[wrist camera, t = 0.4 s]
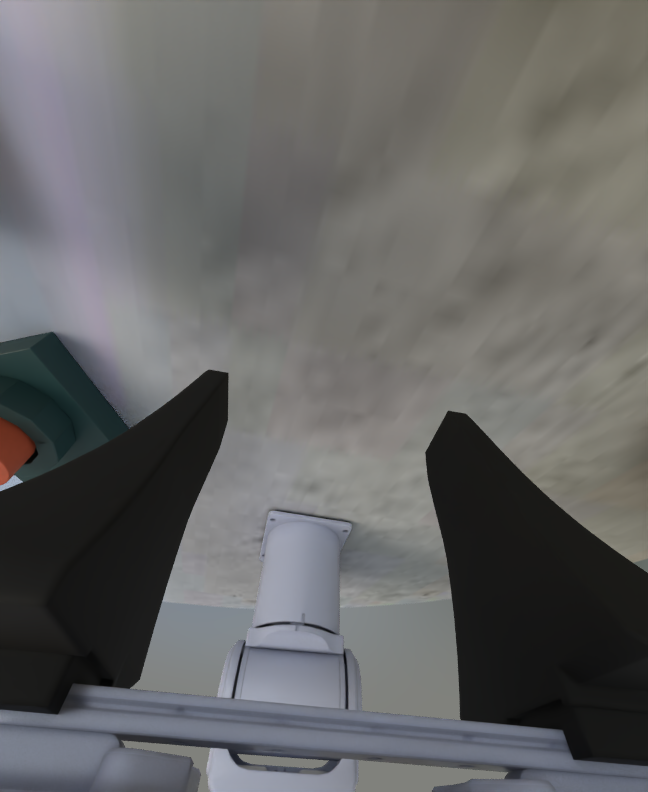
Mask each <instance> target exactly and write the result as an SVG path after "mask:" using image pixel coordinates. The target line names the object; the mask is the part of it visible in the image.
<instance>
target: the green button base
mask: <svg viewBox="0 0 648 792" xmlns="http://www.w3.org/2000/svg"><path fill="white" fill-rule="evenodd" d="M0 417H1V418H3V419H5V420H7V421H9V422H11V423H13V424H14V425H16V426H18V427H19V428H20V429H21V430H22V431H23V432H24V433H26V434H27V435H28V436H29V437H30V438H31V439H32V440H33V441H34V442H35V446H36V449H35V452H34V454H33V455H32V456H31V457H30V458H29V459H28V460H27V461H26V462H25V463H24V464H23V465H22V467H21V468H20V469H19V470H18V471H17V472H16V473H15V474H14V475H16V476H17V477H18V478H19V479H20V480H22V481H23V482H25V481H27V480H30V479H32V478H35V477H37V476H39V475H42V474H44V473H46V472H48V471H51V470H53V469H55V468H57V467H59V466H61V465H63V464H66V463H68V462H70V461H72V460H74V459H76V458H78V457H80V456H82V455H84V454H86V453H88V452H90V451H92V450H94V449H96V448H98V447H100V446H101V445H103V444H105V443H107V442H108V441H110V440H112V439H114V438H115V437H117V436H119V435H120V434H122V433H124V432H125V431H127V430H128V427H127V426H126V425H125V424H124V422H123V421H122V420H121V419H120V417H119V416H118V415H117V413H116V412H115V411H114V410H113V408H112V407H111V406H110V404H109V403H108V402H107V401H106V399H105V398H104V397H103V396H102V394H101V393H100V392H99V390H98V389H97V388H96V387H95V385H94V384H93V383H92V382H91V380H90V379H89V378H88V376H87V375H86V374H85V373H84V371H83V370H82V369H81V368H80V366H79V365H78V364H77V362H76V361H75V360H74V359H73V357H72V356H71V355H70V353H69V352H68V351H67V350H66V348H65V347H64V346H63V345H62V343H61V342H60V341H59V339H58V338H57V337H56V336H55V334H54V333H53V332H49V333H45V334H40V335H35V336H30V337H26V338H21V339H16V340H11V341H7V342H2V343H0Z"/></svg>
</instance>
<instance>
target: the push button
mask: <svg viewBox="0 0 648 792" xmlns="http://www.w3.org/2000/svg"><path fill="white" fill-rule="evenodd" d="M35 449H36V446H35V442H34V441H33V440H32V439H31V438H30V437H29V436H28V435H27V434H26V433H24V432H23V431H22V430H21V429H20V428H19V427H18V426H16V425H14V424H13V423H11V422H9V421H7V420H5V419H3V418H1V417H0V485H3V484H5V483H6V482H7V481H8V480H9V479H10V478H11V477H12V476H13V475H14V474H15V473H16V472H17V471H18V470H19V469H20V468H21V467H22V465H23V464H24V463H25V462H26V461H27V460H28V459H29V458H30V457H31V456H32V455H33V454H34V452H35Z"/></svg>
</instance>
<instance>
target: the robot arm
mask: <svg viewBox="0 0 648 792" xmlns="http://www.w3.org/2000/svg"><path fill="white" fill-rule="evenodd" d="M227 421H228V373H226V372H220V371H214V370H208V371H206V372H205V373H203V374H202V375H201V376H200V377H199V378H197V379H196V380H195V381H194V382H193V383H191V384H190V385H189V386H188V387H186V388H185V389H184V390H183V391H182V392H180V393H179V394H178V395H176V396H175V397H174V398H173V399H171V400H170V401H169V402H167V403H166V404H165V405H163V406H162V407H161V408H159V409H158V410H157V411H155V412H154V413H152V414H151V415H149V416H148V417H146V418H145V419H144V420H142V421H141V422H139V423H138V424H136V425H135V426H133V427H132V428H130V429H128V430H127V431H125V432H124V433H122V434H120V435H119V436H117V437H115V438H114V439H112V440H110V441H108V442H107V443H105V444H103V445H101V446H100V447H98V448H96V449H94V450H92V451H90V452H88V453H86V454H84V455H82V456H80V457H78V458H76V459H74V460H72V461H70V462H68V463H66V464H63V465H61V466H59V467H57V468H55V469H53V470H51V471H48V472H46V473H44V474H42V475H39V476H37V477H35V478H32V479H30V480H27V481H25V482H23V483H20V484H18V485H15V486H13V487H10V488H8V489H5V490H3V491H0V792H197V790H198V785H199V781H200V776H201V773H200V771H199V769H197V768H195V767H193V764H194V763H193V761H192V759H191V757H185V756H179V755H173V754H167V753H161V752H154V751H148V750H142V749H134V748H125V746H124V744H123V742H122V741H121V740H123V741H136V742H148V743H160V744H172V745H185V746H196V747H208V748H210V753H209V759H208V764H207V776H208V788H209V791H210V792H355V787H356V785H357V783H358V760H365V761H378V762H389V763H402V764H413V765H426V766H437V767H450V768H462V769H473V770H486V771H498V772H509V773H508V774H507V775H506V776H505V779H471V780H469V781H467V782H465V783H461V784H456V785H447V786H437V787H434V788H433V790H432V792H648V573H647V572H645V571H644V570H643V569H641V568H640V567H638V566H637V565H635V564H634V563H632V562H631V561H629V560H628V559H626V558H625V557H624V556H622V555H621V554H619V553H618V552H617V551H615V550H614V549H612V548H611V547H610V546H608V545H607V544H606V543H604V542H603V541H602V540H600V539H599V538H598V537H596V536H595V535H594V534H592V533H591V532H590V531H588V530H587V529H586V528H584V527H583V526H582V525H581V524H579V523H578V522H577V521H576V520H574V519H573V518H572V517H571V516H570V515H568V514H567V513H566V512H565V511H564V510H563V509H561V508H560V507H559V506H558V505H557V504H556V503H554V502H553V501H552V500H551V499H550V498H549V497H548V496H546V495H545V494H544V493H543V492H542V491H541V490H540V489H539V488H538V487H537V486H536V485H535V484H534V483H533V482H532V481H531V480H529V479H528V478H527V477H526V476H525V475H524V474H523V473H522V472H521V471H520V470H519V469H518V468H517V467H516V466H515V465H514V464H513V463H512V462H511V460H510V459H509V458H508V457H507V456H506V455H505V454H504V453H503V452H502V451H501V450H500V449H499V448H498V447H497V446H496V445H495V444H494V442H493V441H492V440H491V439H490V438H489V437H488V436H487V435H486V434H485V433H484V432H483V431H482V430H481V429H480V427H479V426H478V425H477V424H476V423H475V422H474V421H473V420H472V419H471V418H470V417H469V416H468V415H466V414H464V413H458V412H452V411H448V412H447V414H446V416H445V417H444V419H443V421H442V423H441V425H440V427H439V428H438V430H437V432H436V434H435V436H434V438H433V439H432V441H431V443H430V445H429V447H428V449H427V450H426V452H425V453H426V465H427V474H428V481H429V486H430V490H431V494H432V498H433V502H434V506H435V510H436V514H437V518H438V522H439V526H440V530H441V534H442V538H443V542H444V547H445V552H446V557H447V563H448V571H449V578H450V585H451V593H452V601H453V610H454V618H455V631H456V643H457V655H458V673H459V694H460V719H461V720H453V719H442V718H431V717H421V716H411V715H400V714H390V713H379V712H368V711H362V691H361V676H360V669H359V664H358V661H357V659H356V658H355V656H354V655H353V653H352V651H351V650H350V649H344V637H343V636H342V635H339V622H340V621H339V620H340V619H339V618H340V617H339V616H340V615H339V614H340V613H339V612H340V551H341V549H342V547H343V546H344V544H345V542H346V540H347V538H348V536H349V534H350V532H351V530H352V524H351V523H348V522H342V521H336V520H330V519H324V518H317V517H311V516H305V515H299V514H292V513H286V512H280V511H270V512H269V513H268V518H267V523H266V528H265V532H264V537H263V542H262V547H261V551H260V556H259V560H260V561H261V562H263V567H262V572H261V578H260V584H259V589H258V595H257V600H256V606H255V612H254V617H253V623H252V628H248V633H247V639H246V641H245V640H238V641H237V642H236V644H235V645H234V646H233V647H232V648H231V649H230V650H229V652H228V655H227V658H226V661H225V664H224V668H223V672H222V677H221V681H220V685H219V690H218V695H217V697H211V696H199V695H190V694H178V693H168V692H158V691H147V690H137V689H130V688H131V687H132V686H133V685H134V684H135V683H137V682H138V681H139V680H140V677H141V673H142V669H143V666H144V662H145V659H146V655H147V652H148V648H149V645H150V641H151V637H152V634H153V630H154V627H155V623H156V620H157V617H158V613H159V610H160V607H161V603H162V600H163V597H164V593H165V590H166V587H167V583H168V580H169V577H170V574H171V571H172V568H173V564H174V561H175V558H176V555H177V552H178V549H179V546H180V543H181V540H182V537H183V534H184V531H185V528H186V525H187V522H188V519H189V517H190V514H191V511H192V509H193V507H194V504H195V502H196V500H197V498H198V495H199V493H200V491H201V489H202V486H203V484H204V482H205V480H206V477H207V475H208V473H209V471H210V469H211V466H212V464H213V462H214V459H215V457H216V455H217V453H218V450H219V448H220V445H221V442H222V438H223V435H224V432H225V428H226V425H227ZM237 754H248V755H262V756H277V757H290V758H303V759H318V760H329V761H328V762H327V763H326V764H325V765H324V766H322V767H319V768H314V769H311V768H297V767H283V766H268V765H255V764H249V763H247V762H244V761H242V760H241V759H240V758H239V756H238V755H237Z"/></svg>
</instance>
